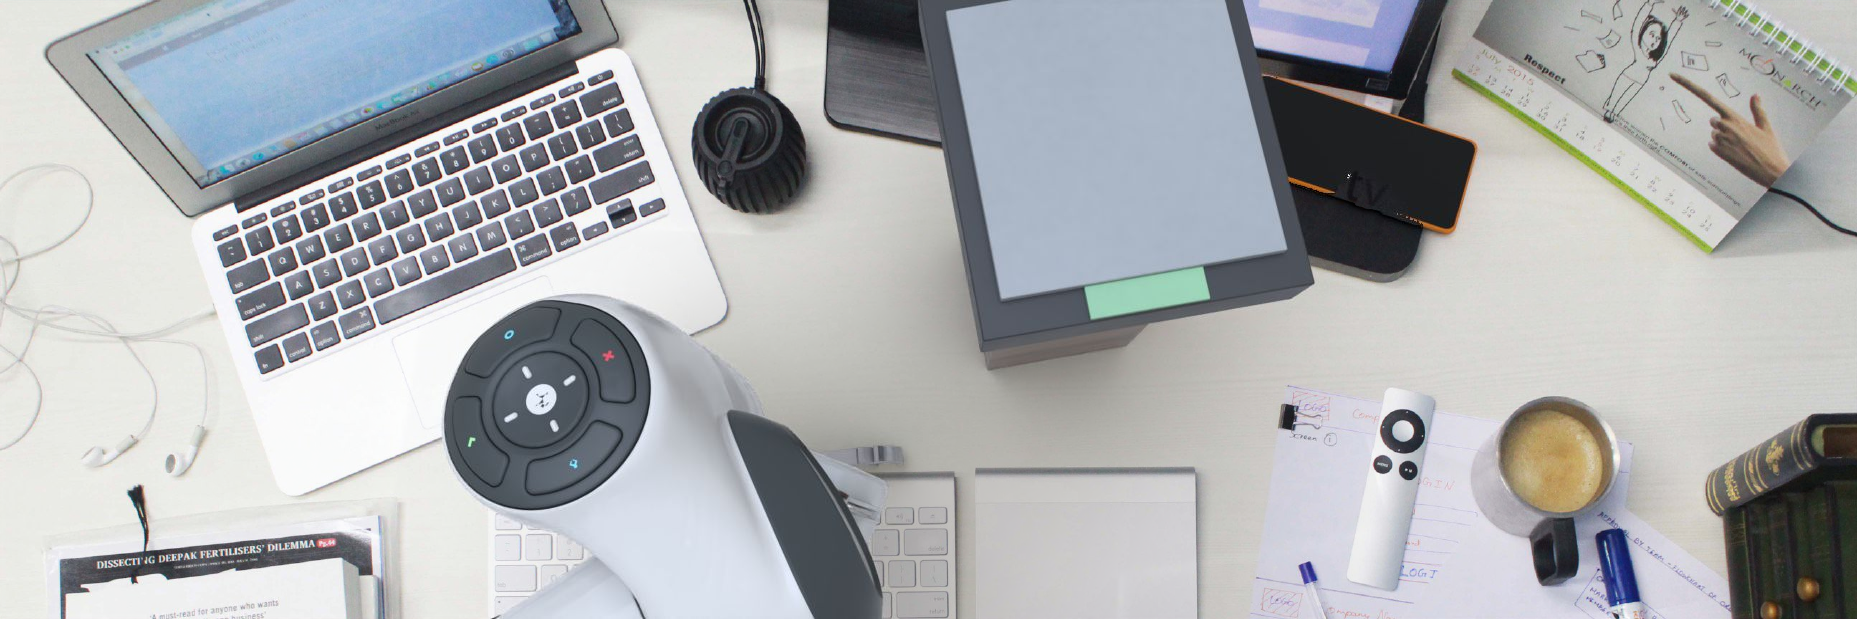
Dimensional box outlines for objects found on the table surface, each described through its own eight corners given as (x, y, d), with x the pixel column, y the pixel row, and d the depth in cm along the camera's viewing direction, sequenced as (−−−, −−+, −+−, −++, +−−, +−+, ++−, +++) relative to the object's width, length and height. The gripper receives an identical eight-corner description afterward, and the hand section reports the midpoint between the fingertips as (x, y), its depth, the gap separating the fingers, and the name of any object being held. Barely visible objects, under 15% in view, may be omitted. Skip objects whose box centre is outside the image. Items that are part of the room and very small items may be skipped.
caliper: (903, 449, 73) (899, 442, 67) (904, 464, 73) (900, 459, 67) (610, 472, 73) (580, 467, 67) (610, 488, 73) (580, 484, 67)
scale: (1292, 299, 46) (1321, 280, 43) (980, 353, 46) (983, 339, 43) (1211, -28, 50) (1231, -70, 46) (918, 21, 49) (916, -17, 46)
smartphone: (1255, 73, 78) (1258, 68, 77) (1475, 146, 77) (1480, 141, 76) (1225, 164, 77) (1228, 160, 76) (1449, 240, 75) (1454, 236, 75)
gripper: (900, 451, 49) (909, 466, 62) (500, 302, 50) (593, 349, 64) (851, 583, 48) (871, 569, 61) (443, 426, 49) (551, 447, 63)
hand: (727, 455), depth 62 cm, fingers open, 8 cm apart
